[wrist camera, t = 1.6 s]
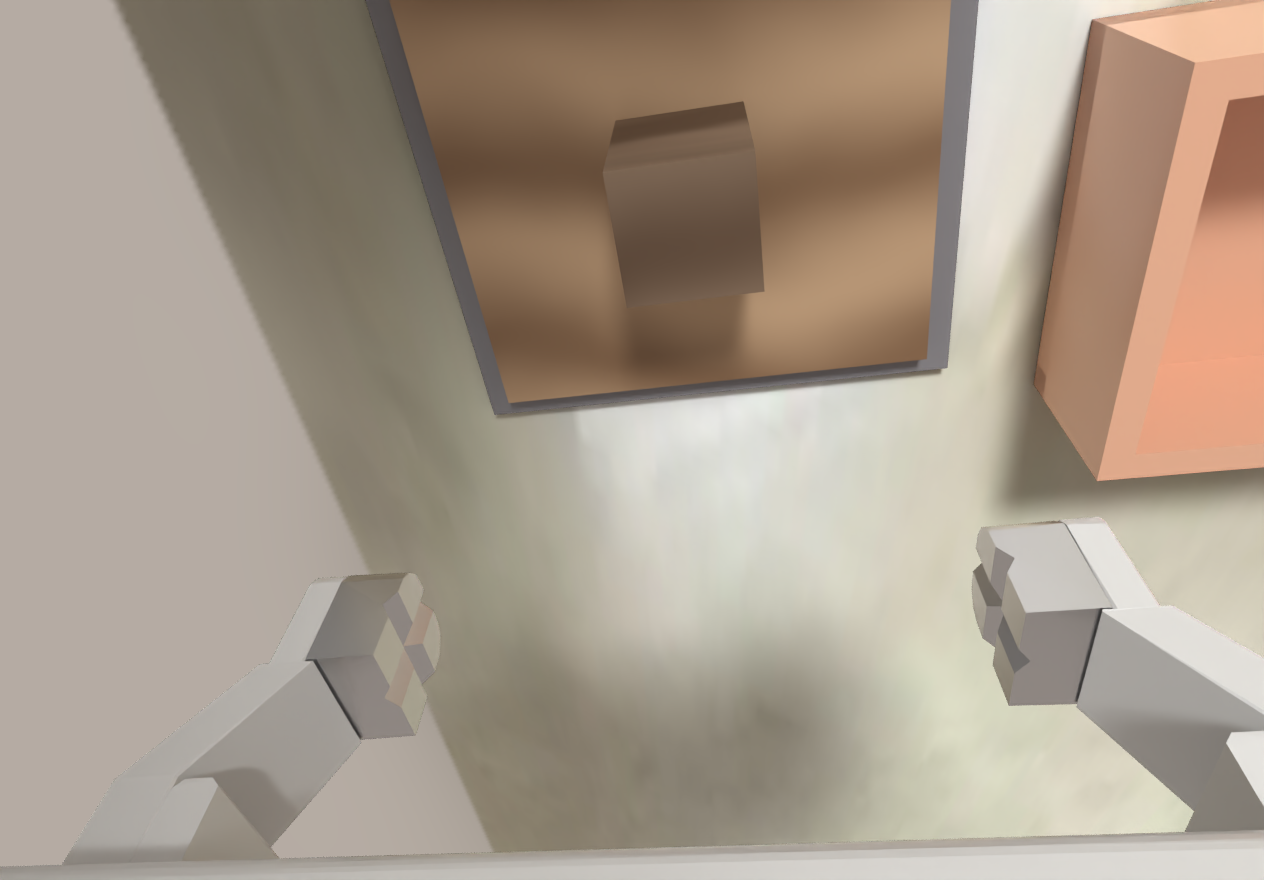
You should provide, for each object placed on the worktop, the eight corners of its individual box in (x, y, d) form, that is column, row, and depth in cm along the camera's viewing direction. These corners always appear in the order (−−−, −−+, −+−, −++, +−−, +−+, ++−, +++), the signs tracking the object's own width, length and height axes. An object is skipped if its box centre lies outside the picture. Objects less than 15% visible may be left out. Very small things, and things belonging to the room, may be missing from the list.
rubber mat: (338, -107, 23) (332, -106, 23) (992, -236, 21) (998, -238, 20) (496, 408, 34) (494, 415, 33) (944, 361, 31) (947, 367, 31)
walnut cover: (377, -71, 23) (300, -50, 18) (954, -181, 21) (1031, -189, 16) (512, 392, 32) (483, 483, 28) (921, 348, 30) (965, 439, 26)
